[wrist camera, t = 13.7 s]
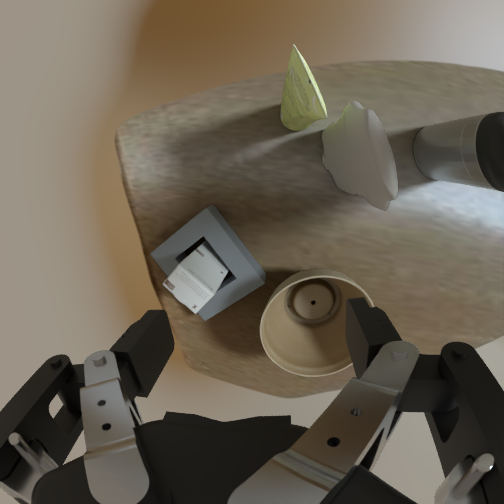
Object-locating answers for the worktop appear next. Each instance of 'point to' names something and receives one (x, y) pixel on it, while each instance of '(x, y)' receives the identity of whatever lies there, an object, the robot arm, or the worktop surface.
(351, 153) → the tall pale column
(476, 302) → the worktop surface
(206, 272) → the skincare box
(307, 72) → the tube
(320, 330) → the planter bowl
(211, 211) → the socket frame
